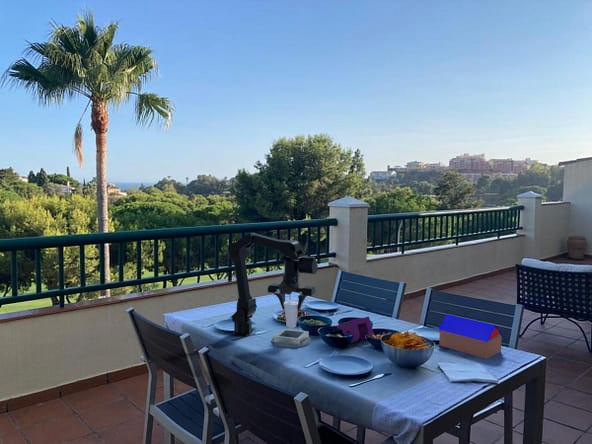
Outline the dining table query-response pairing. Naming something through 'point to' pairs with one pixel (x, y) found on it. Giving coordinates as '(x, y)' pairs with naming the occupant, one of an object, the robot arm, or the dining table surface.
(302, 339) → the disk with square socket
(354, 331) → the mounting bracket
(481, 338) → the house
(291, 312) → the smoothie
